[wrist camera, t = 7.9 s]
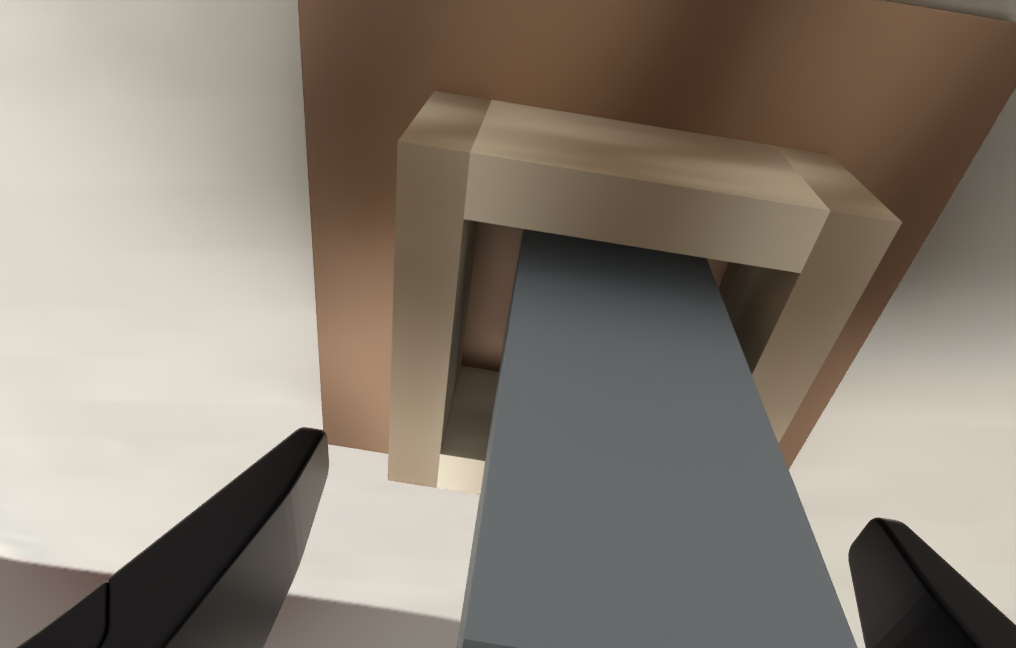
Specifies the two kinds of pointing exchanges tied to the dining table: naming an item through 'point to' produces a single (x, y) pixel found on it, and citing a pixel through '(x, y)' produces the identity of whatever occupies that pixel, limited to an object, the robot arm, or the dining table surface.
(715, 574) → the peg
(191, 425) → the dining table surface
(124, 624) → the robot arm
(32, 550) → the dining table surface
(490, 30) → the socket block
